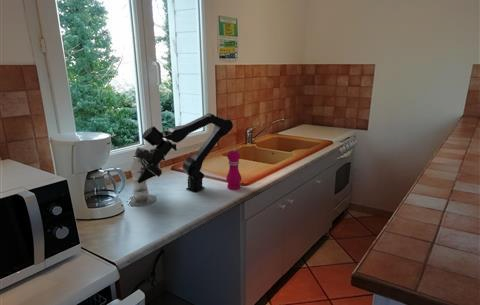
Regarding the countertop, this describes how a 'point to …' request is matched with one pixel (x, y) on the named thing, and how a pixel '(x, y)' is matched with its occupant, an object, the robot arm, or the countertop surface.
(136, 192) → the silver bottle
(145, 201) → the round gray disc
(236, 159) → the pepper mill
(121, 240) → the countertop surface
